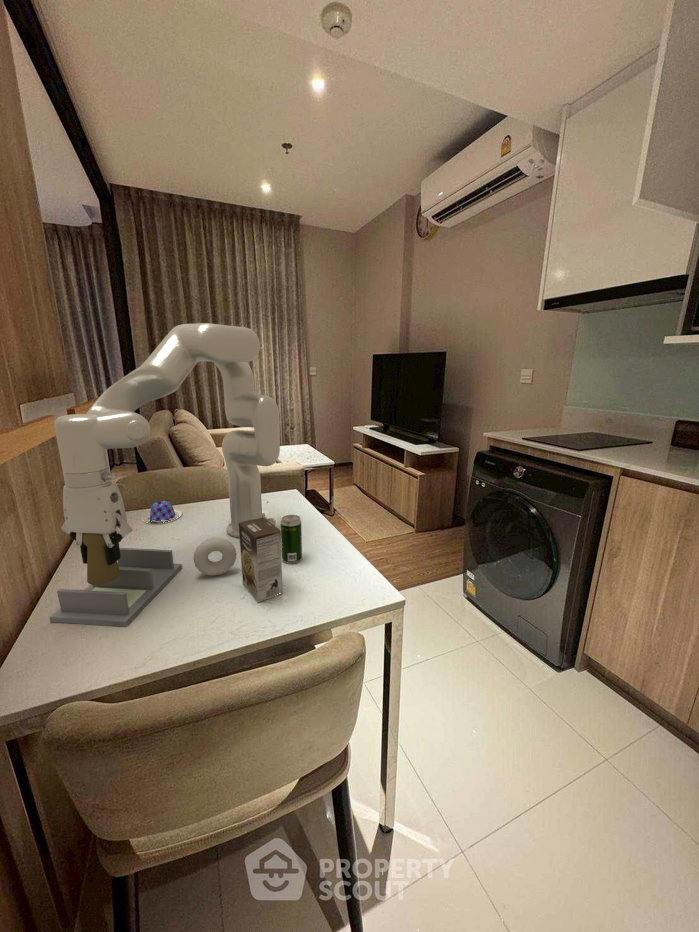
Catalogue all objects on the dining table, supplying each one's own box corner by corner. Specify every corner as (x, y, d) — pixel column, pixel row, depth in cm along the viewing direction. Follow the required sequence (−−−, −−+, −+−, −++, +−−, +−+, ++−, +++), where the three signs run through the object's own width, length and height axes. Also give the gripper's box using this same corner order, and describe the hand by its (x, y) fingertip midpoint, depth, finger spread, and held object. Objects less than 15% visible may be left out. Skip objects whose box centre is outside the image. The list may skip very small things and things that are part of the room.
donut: (195, 581, 89) (190, 544, 87) (195, 574, 92) (191, 537, 90) (238, 574, 92) (235, 538, 90) (237, 567, 96) (234, 532, 93)
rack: (182, 568, 95) (179, 546, 93) (126, 626, 74) (122, 600, 72) (122, 565, 96) (118, 543, 94) (50, 622, 75) (44, 596, 73)
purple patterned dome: (148, 512, 130) (146, 498, 128) (184, 510, 133) (183, 496, 131) (138, 527, 119) (136, 511, 117) (178, 523, 121) (177, 508, 120)
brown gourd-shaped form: (104, 586, 75) (96, 537, 72) (79, 582, 76) (70, 533, 73) (127, 571, 81) (121, 524, 78) (103, 567, 82) (96, 521, 79)
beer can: (304, 562, 99) (303, 521, 95) (283, 566, 97) (282, 523, 94) (299, 553, 103) (298, 513, 100) (280, 556, 102) (278, 515, 98)
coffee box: (241, 584, 88) (237, 522, 84) (266, 575, 92) (263, 515, 88) (257, 604, 82) (253, 537, 77) (283, 593, 85) (281, 529, 81)
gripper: (141, 474, 76) (151, 554, 81) (62, 471, 77) (77, 550, 82) (116, 485, 69) (129, 573, 74) (30, 481, 70) (48, 568, 75)
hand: (102, 560), depth 78 cm, fingers closed on brown gourd-shaped form, 4 cm apart
